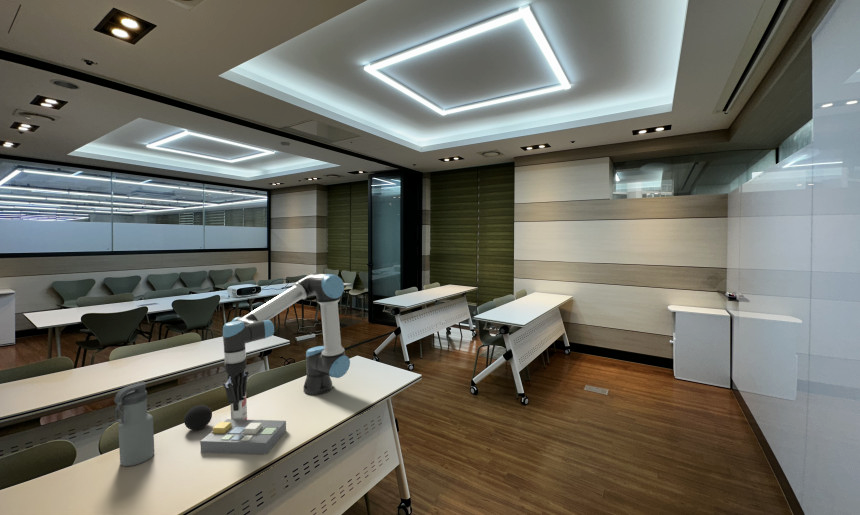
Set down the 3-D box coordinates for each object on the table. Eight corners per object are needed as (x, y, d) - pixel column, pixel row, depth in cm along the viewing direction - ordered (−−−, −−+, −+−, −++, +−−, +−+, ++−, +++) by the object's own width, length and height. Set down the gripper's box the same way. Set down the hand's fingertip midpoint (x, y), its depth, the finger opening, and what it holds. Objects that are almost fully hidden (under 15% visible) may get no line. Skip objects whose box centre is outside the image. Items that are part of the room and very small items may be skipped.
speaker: (203, 420, 154) (203, 398, 153) (217, 425, 149) (216, 403, 149) (179, 431, 145) (178, 408, 144) (193, 437, 140) (192, 414, 140)
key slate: (235, 432, 140) (235, 426, 140) (246, 432, 140) (246, 426, 140) (228, 438, 136) (228, 432, 135) (239, 439, 135) (239, 433, 135)
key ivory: (250, 428, 140) (250, 422, 140) (261, 428, 139) (261, 422, 139) (244, 434, 135) (244, 428, 135) (255, 434, 135) (255, 429, 135)
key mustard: (220, 427, 140) (220, 421, 140) (231, 427, 140) (231, 422, 140) (213, 433, 136) (212, 427, 136) (224, 434, 136) (223, 428, 135)
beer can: (250, 420, 153) (249, 386, 152) (238, 428, 147) (237, 392, 146) (239, 418, 155) (238, 384, 154) (227, 425, 149) (226, 390, 148)
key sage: (266, 433, 139) (266, 427, 139) (277, 433, 139) (277, 427, 139) (260, 439, 135) (260, 433, 135) (271, 439, 135) (271, 434, 135)
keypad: (227, 429, 146) (227, 418, 146) (286, 430, 145) (285, 420, 145) (200, 452, 130) (200, 440, 130) (266, 454, 129) (265, 442, 129)
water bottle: (124, 471, 120) (120, 394, 118) (114, 462, 125) (110, 387, 123) (159, 456, 128) (155, 383, 127) (148, 447, 133) (145, 378, 132)
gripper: (236, 354, 143) (239, 408, 144) (215, 366, 130) (218, 425, 131) (253, 354, 142) (256, 408, 144) (234, 366, 129) (237, 426, 131)
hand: (238, 416), depth 138 cm, fingers closed
